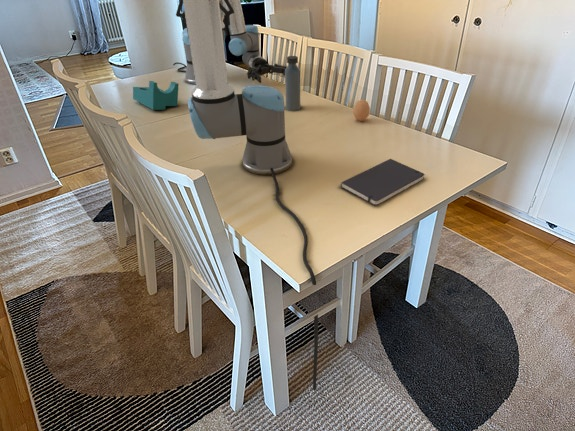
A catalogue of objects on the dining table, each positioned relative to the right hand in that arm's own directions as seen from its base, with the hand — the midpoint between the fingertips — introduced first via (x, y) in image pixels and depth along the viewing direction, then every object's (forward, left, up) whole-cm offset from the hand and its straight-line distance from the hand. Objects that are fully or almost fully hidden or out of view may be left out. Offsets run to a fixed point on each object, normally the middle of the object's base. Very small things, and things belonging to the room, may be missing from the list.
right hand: (208, 36), depth 147 cm
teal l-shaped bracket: (+14, +25, -28) cm, 40 cm away
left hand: (+14, -26, -21) cm, 36 cm away
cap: (-5, -30, -8) cm, 32 cm away
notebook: (-69, -44, -28) cm, 86 cm away
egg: (-24, -52, -28) cm, 64 cm away
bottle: (-5, -30, -28) cm, 41 cm away
